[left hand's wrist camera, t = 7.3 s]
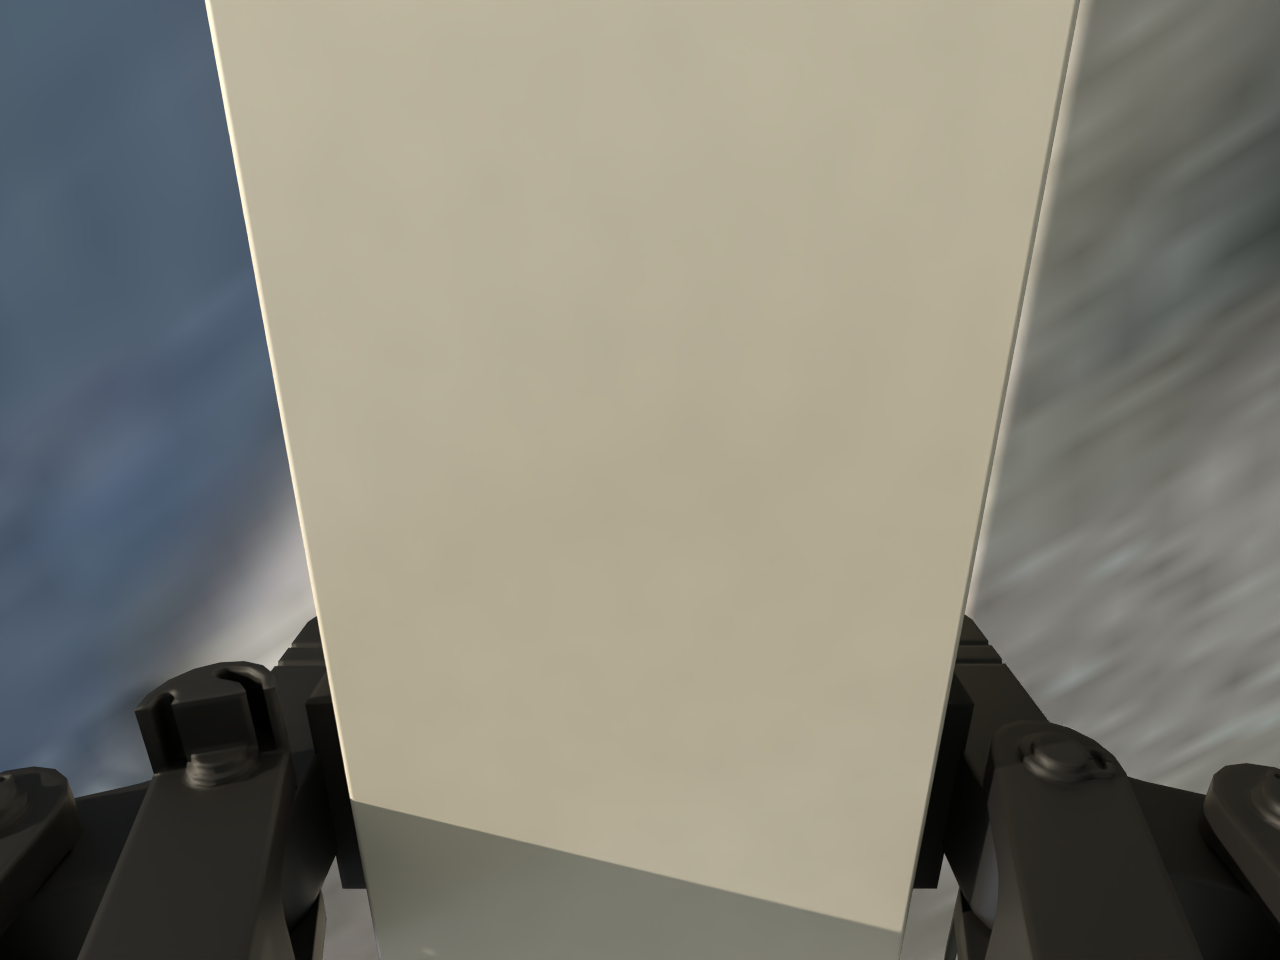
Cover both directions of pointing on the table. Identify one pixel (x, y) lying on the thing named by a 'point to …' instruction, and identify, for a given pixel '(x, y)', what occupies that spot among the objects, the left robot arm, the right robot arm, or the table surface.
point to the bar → (641, 439)
